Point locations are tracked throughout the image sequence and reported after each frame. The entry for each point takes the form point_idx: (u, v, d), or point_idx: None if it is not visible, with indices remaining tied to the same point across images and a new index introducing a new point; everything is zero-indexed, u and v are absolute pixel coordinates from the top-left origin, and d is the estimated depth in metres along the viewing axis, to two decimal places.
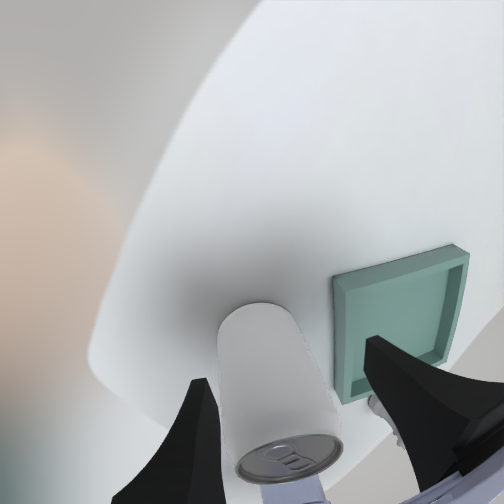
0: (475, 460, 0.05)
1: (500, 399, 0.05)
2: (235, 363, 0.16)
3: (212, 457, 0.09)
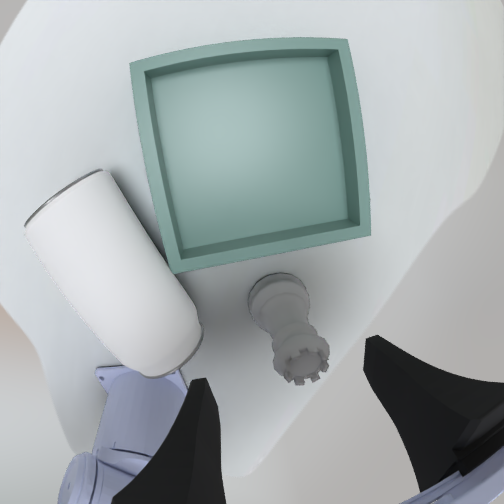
0: (475, 460, 0.05)
1: (500, 399, 0.05)
2: (91, 310, 0.13)
3: (212, 457, 0.09)
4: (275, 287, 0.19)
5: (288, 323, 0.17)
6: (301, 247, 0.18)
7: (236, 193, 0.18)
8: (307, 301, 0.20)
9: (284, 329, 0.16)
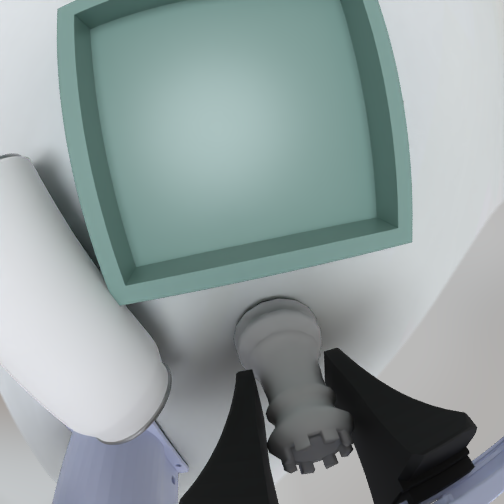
0: (425, 492, 0.05)
1: (452, 433, 0.05)
2: (4, 360, 0.07)
3: (264, 449, 0.09)
4: (272, 322, 0.13)
5: (291, 384, 0.10)
6: (311, 263, 0.11)
7: (209, 181, 0.12)
8: (319, 338, 0.13)
9: (284, 395, 0.10)
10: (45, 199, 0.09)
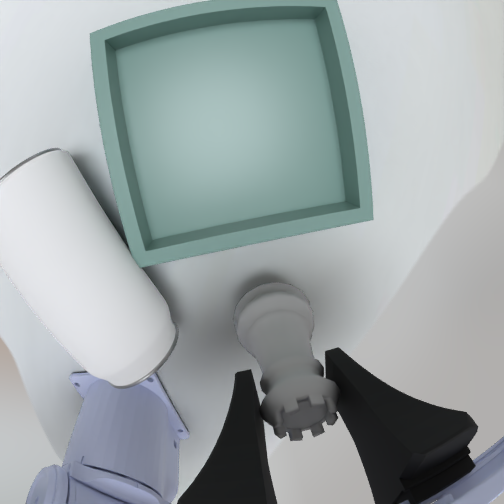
0: (426, 491, 0.05)
1: (453, 432, 0.05)
2: (44, 308, 0.10)
3: (263, 449, 0.09)
4: (268, 302, 0.14)
5: (283, 356, 0.11)
6: (289, 234, 0.15)
7: (211, 173, 0.15)
8: (311, 320, 0.15)
9: (277, 365, 0.11)
10: (84, 184, 0.12)
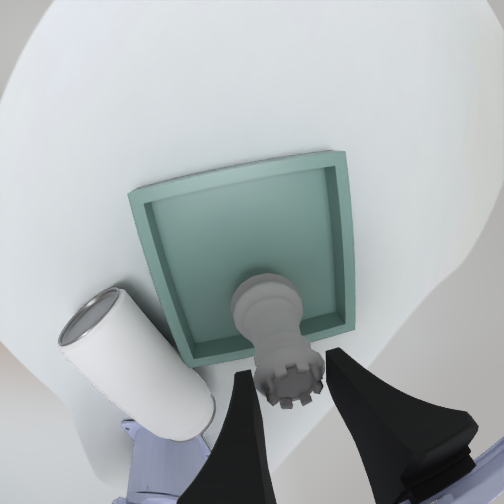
0: (427, 491, 0.05)
1: (454, 432, 0.05)
2: (129, 407, 0.16)
3: (262, 449, 0.09)
4: (261, 289, 0.16)
5: (274, 332, 0.13)
6: None
7: None
8: (300, 307, 0.17)
9: (268, 340, 0.13)
10: (144, 319, 0.18)
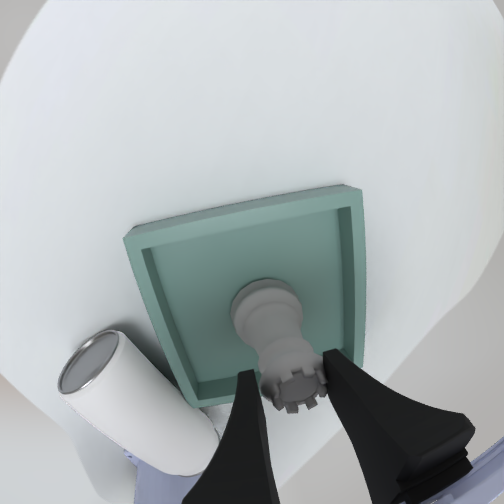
0: (423, 493, 0.05)
1: (450, 434, 0.05)
2: (134, 449, 0.15)
3: (266, 448, 0.09)
4: (261, 295, 0.16)
5: (277, 338, 0.13)
6: None
7: (243, 343, 0.19)
8: (300, 311, 0.17)
9: (272, 345, 0.13)
10: (146, 365, 0.17)
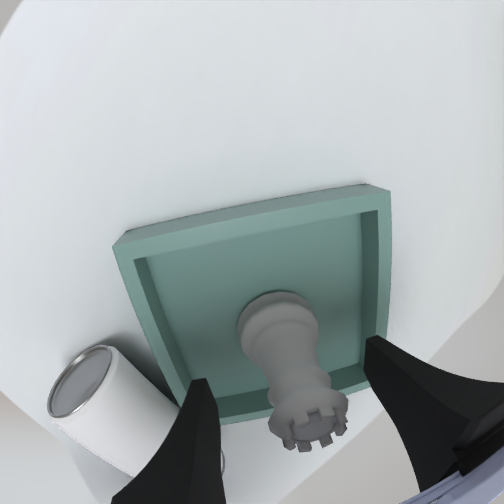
0: (475, 460, 0.05)
1: (500, 399, 0.05)
2: (131, 473, 0.13)
3: (212, 457, 0.09)
4: (273, 312, 0.14)
5: (291, 367, 0.11)
6: None
7: None
8: (316, 329, 0.15)
9: (285, 377, 0.11)
10: (143, 385, 0.14)
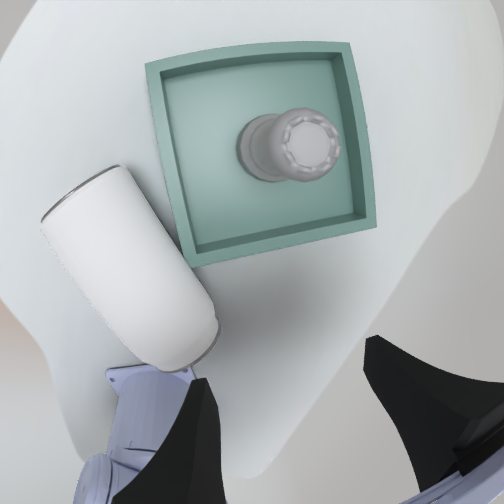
0: (475, 460, 0.05)
1: (500, 399, 0.05)
2: (112, 303, 0.14)
3: (212, 457, 0.09)
4: (267, 116, 0.16)
5: None
6: (312, 239, 0.19)
7: (248, 190, 0.19)
8: None
9: None
10: (144, 197, 0.16)
